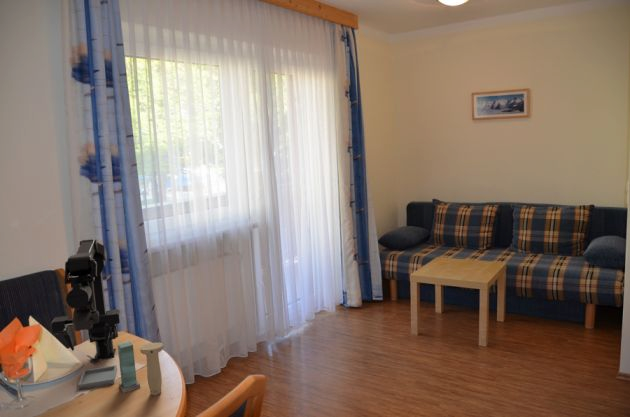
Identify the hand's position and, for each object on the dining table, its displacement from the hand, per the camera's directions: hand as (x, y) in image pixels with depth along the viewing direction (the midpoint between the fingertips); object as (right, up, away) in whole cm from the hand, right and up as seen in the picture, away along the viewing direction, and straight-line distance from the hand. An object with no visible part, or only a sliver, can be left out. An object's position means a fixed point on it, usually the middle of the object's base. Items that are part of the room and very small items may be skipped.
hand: (89, 347), depth 152 cm
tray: (-2, -13, +11) cm, 17 cm away
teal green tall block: (+10, -14, +5) cm, 18 cm away
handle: (+20, -14, +1) cm, 24 cm away
